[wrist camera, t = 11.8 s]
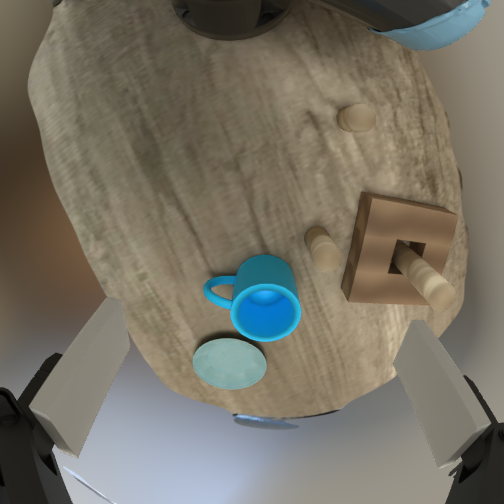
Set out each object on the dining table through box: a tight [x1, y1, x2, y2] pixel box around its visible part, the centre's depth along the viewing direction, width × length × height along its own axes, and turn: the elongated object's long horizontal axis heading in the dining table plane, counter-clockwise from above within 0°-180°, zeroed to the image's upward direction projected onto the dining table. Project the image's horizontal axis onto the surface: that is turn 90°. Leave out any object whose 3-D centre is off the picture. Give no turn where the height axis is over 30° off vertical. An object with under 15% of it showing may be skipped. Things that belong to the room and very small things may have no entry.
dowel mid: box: [305, 226, 342, 272], centre depth 35 cm, size 3×3×7 cm
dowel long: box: [391, 239, 456, 312], centre depth 33 cm, size 3×3×14 cm
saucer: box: [193, 338, 267, 389], centre depth 46 cm, size 12×12×2 cm
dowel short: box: [337, 104, 376, 132], centre depth 30 cm, size 3×3×5 cm
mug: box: [203, 255, 301, 342], centre depth 37 cm, size 12×8×8 cm
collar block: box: [341, 192, 459, 305], centre depth 37 cm, size 14×14×4 cm
